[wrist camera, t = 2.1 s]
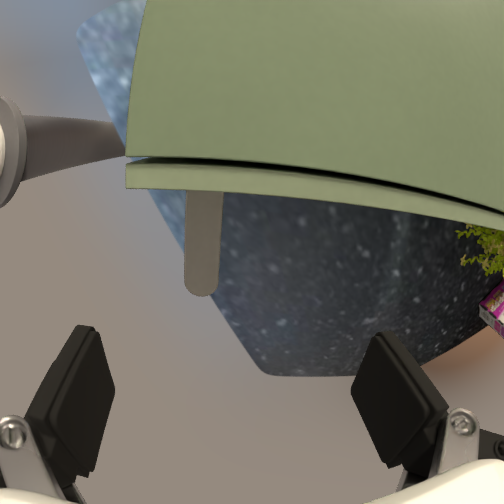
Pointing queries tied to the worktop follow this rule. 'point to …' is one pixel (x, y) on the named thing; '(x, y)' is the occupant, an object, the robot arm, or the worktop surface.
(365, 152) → the cabinet
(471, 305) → the worktop surface
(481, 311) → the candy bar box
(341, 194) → the door
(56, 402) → the robot arm
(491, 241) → the potted plant
